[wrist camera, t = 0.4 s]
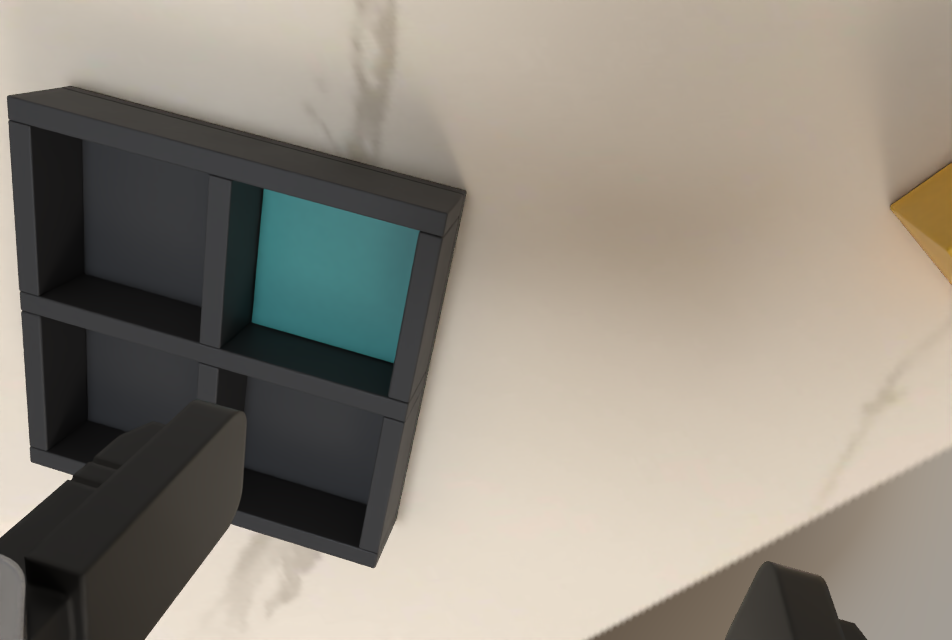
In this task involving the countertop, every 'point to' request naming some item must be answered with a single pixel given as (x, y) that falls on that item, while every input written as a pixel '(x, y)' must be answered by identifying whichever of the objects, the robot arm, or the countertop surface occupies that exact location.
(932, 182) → the block
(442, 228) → the tray
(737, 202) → the countertop surface
